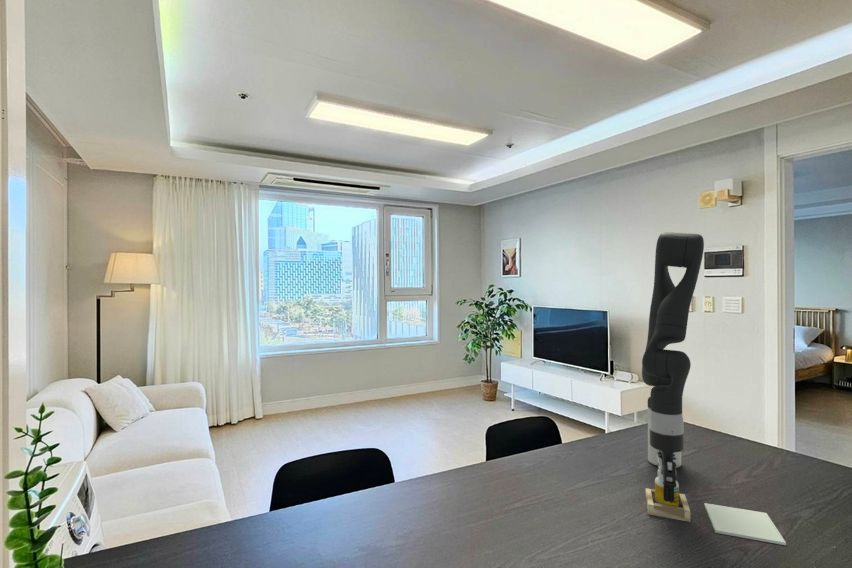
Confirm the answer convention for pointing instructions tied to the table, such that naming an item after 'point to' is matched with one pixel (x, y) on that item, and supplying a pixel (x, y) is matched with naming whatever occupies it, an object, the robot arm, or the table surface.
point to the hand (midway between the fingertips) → (666, 493)
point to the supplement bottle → (659, 491)
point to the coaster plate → (743, 523)
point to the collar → (667, 507)
